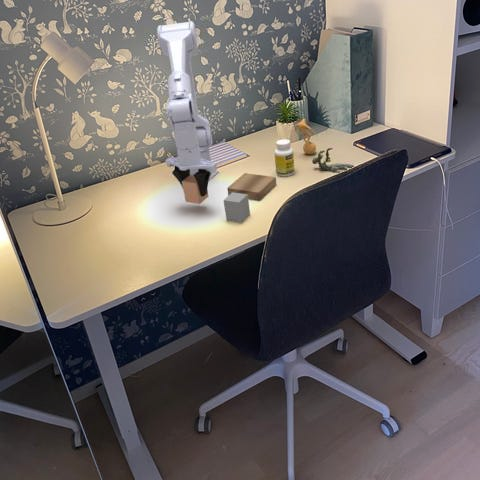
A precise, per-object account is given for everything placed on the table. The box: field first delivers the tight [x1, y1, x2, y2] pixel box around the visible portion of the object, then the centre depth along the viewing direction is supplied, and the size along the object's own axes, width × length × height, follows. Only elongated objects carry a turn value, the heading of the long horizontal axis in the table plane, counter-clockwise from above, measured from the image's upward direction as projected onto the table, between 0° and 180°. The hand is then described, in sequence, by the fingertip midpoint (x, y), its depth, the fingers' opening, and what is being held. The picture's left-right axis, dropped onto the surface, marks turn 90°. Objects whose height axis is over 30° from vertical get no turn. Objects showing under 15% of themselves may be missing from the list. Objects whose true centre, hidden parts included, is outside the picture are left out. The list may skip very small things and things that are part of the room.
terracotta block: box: [181, 174, 209, 205], centre depth 144 cm, size 4×4×6 cm
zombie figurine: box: [311, 147, 354, 173], centre depth 156 cm, size 5×7×15 cm
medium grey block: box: [223, 192, 251, 224], centre depth 139 cm, size 4×4×6 cm
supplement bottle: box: [274, 139, 295, 177], centre depth 158 cm, size 5×5×10 cm
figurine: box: [294, 118, 318, 155], centre depth 166 cm, size 8×6×12 cm
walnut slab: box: [226, 172, 277, 202], centre depth 152 cm, size 10×10×3 cm
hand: (196, 193), depth 145 cm, fingers closed on terracotta block, 4 cm apart
